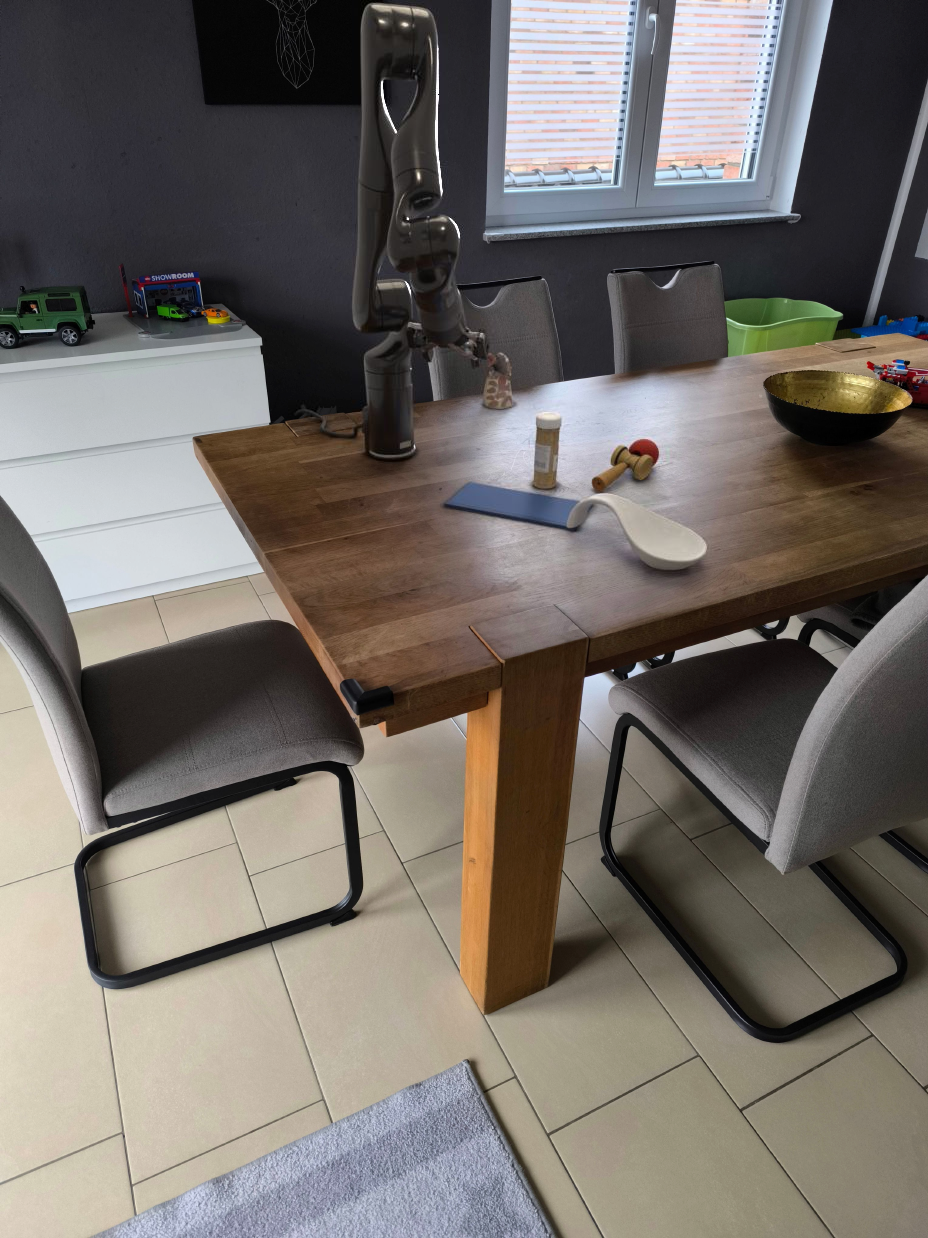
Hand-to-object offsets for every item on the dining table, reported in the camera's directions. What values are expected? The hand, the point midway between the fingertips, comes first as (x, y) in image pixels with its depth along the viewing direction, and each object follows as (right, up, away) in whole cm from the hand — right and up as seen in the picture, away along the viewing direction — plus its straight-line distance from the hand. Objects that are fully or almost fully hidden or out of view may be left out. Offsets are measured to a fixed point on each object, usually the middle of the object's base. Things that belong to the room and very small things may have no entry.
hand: (452, 361), depth 152 cm
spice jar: (+17, -22, +5) cm, 28 cm away
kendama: (+33, -20, +7) cm, 39 cm away
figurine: (+10, +4, +45) cm, 47 cm away
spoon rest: (+29, -36, -18) cm, 50 cm away
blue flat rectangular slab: (+12, -27, -4) cm, 30 cm away
